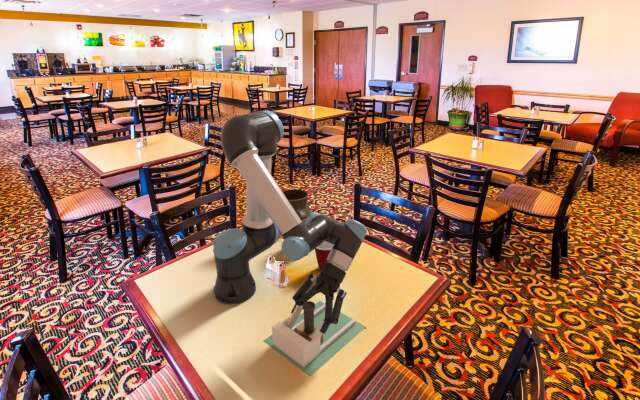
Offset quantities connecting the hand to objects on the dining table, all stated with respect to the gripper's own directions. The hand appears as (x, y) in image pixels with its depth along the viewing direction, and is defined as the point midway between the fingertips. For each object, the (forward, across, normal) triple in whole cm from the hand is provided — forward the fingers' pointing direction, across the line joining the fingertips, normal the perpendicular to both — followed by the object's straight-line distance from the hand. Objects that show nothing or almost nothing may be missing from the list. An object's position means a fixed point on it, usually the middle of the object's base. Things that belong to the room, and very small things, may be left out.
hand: (301, 333), depth 111 cm
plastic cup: (-23, +23, -30) cm, 44 cm away
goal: (+4, 0, -2) cm, 4 cm away
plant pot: (-37, +63, -45) cm, 86 cm away
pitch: (-1, 0, -8) cm, 8 cm away
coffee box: (-29, +43, -36) cm, 63 cm away
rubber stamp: (+1, 0, -6) cm, 6 cm away
